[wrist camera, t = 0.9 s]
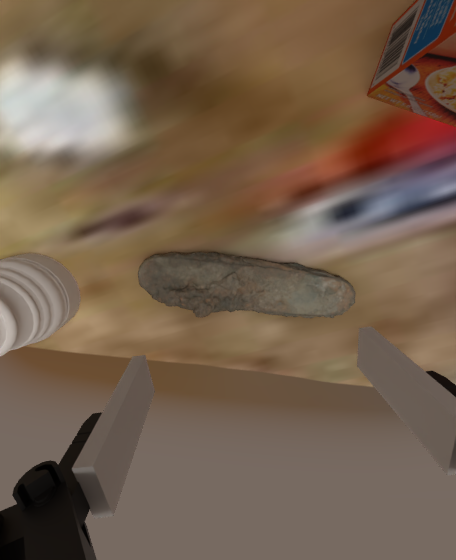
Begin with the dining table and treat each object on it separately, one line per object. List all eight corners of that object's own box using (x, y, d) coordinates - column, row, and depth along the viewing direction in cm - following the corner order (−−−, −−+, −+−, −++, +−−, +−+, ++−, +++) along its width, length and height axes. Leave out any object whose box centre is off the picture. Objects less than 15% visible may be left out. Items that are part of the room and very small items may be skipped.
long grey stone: (336, 319, 46) (349, 265, 43) (353, 332, 41) (369, 272, 38) (139, 302, 41) (142, 242, 39) (130, 314, 36) (133, 246, 34)
